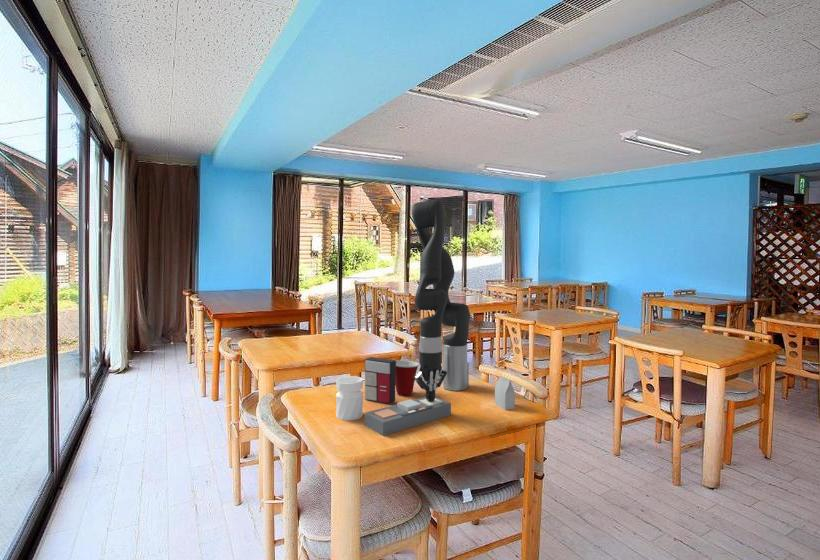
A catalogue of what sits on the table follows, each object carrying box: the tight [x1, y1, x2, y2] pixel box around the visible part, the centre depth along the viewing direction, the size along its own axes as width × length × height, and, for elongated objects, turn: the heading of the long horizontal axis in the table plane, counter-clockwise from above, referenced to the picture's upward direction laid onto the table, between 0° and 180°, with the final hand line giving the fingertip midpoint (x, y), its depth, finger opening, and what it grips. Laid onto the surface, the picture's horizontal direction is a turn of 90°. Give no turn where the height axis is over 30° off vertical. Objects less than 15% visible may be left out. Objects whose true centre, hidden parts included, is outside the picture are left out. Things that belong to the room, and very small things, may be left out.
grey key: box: [396, 399, 421, 412], centre depth 149 cm, size 5×5×3 cm
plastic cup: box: [395, 360, 420, 397], centre depth 176 cm, size 11×11×12 cm
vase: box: [335, 375, 364, 422], centre depth 153 cm, size 9×9×12 cm
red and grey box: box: [364, 356, 397, 405], centre depth 168 cm, size 11×4×15 cm, turn 62°
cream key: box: [419, 399, 442, 406], centre depth 155 cm, size 5×5×3 cm
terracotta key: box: [374, 409, 398, 419], centre depth 144 cm, size 5×5×3 cm
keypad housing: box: [364, 396, 452, 436], centre depth 150 cm, size 27×10×4 cm, turn 128°
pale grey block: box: [494, 375, 516, 411], centre depth 162 cm, size 4×7×10 cm, turn 21°
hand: (430, 401), depth 155 cm, fingers closed
